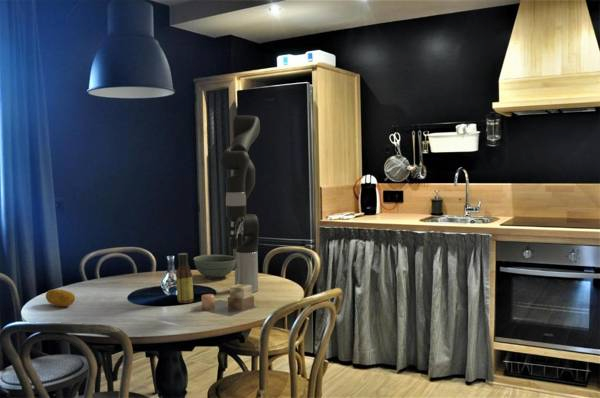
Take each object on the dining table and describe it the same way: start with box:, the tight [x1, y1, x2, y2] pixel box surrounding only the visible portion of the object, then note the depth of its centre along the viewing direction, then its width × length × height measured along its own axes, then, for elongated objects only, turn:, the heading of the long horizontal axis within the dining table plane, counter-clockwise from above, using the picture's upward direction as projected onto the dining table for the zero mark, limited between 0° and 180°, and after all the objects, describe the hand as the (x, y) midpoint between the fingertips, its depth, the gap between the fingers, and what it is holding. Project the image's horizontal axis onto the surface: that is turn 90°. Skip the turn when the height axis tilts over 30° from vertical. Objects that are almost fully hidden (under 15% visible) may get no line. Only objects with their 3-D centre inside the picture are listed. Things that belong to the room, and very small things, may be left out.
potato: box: [45, 289, 76, 308], centre depth 225 cm, size 8×14×7 cm, turn 53°
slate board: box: [190, 299, 259, 317], centre depth 217 cm, size 20×16×1 cm
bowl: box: [193, 254, 236, 281], centre depth 277 cm, size 21×21×10 cm
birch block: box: [229, 284, 253, 299], centre depth 217 cm, size 6×6×4 cm
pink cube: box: [201, 293, 216, 310], centre depth 216 cm, size 5×5×5 cm
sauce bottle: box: [175, 252, 194, 304], centre depth 227 cm, size 6×6×20 cm
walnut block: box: [227, 295, 255, 310], centre depth 218 cm, size 7×7×4 cm
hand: (236, 247), depth 216 cm, fingers open, 8 cm apart
